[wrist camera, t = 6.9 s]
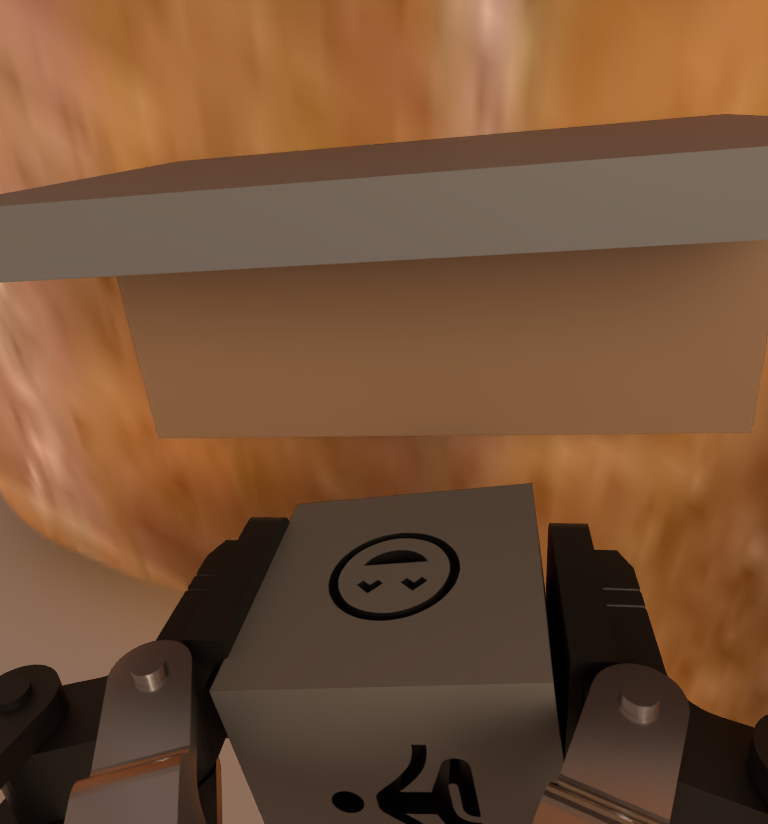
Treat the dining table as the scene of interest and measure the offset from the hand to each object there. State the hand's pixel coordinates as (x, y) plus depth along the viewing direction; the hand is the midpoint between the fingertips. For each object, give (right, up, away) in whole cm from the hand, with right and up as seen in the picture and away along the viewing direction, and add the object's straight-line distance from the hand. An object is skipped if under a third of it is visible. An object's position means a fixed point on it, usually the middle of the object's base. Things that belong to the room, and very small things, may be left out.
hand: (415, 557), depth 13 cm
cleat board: (+1, +8, +7) cm, 11 cm away
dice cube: (0, -1, +1) cm, 2 cm away
